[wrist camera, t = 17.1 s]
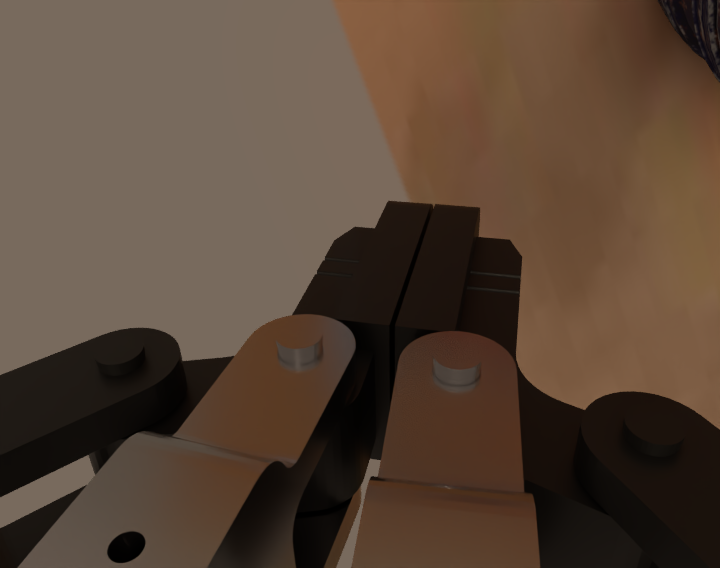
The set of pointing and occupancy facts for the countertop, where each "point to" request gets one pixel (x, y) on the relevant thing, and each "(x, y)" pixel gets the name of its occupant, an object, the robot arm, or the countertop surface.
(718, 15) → the storage jar
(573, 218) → the countertop surface
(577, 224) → the countertop surface
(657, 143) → the countertop surface
